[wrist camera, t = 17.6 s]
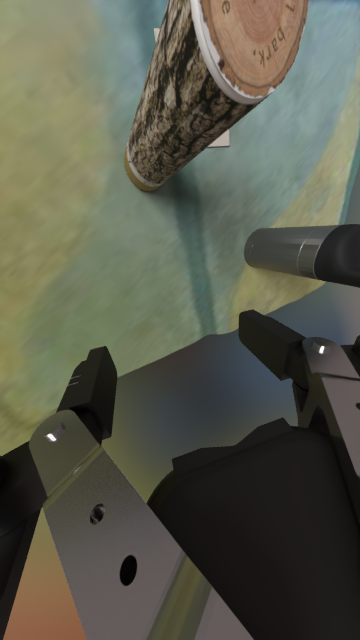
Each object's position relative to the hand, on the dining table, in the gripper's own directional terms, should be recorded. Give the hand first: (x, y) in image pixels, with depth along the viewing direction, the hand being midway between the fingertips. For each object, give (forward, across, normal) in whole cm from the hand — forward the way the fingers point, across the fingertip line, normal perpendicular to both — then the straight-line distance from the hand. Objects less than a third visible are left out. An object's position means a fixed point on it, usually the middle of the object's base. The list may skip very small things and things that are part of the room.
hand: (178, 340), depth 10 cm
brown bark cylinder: (+29, -4, -16) cm, 33 cm away
